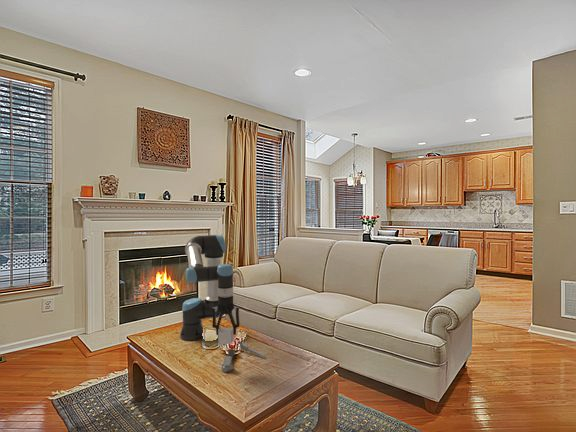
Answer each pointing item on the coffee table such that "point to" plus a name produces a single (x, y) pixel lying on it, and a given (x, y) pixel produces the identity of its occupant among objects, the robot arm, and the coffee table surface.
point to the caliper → (250, 350)
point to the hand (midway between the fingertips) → (226, 340)
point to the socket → (225, 336)
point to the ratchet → (228, 362)
